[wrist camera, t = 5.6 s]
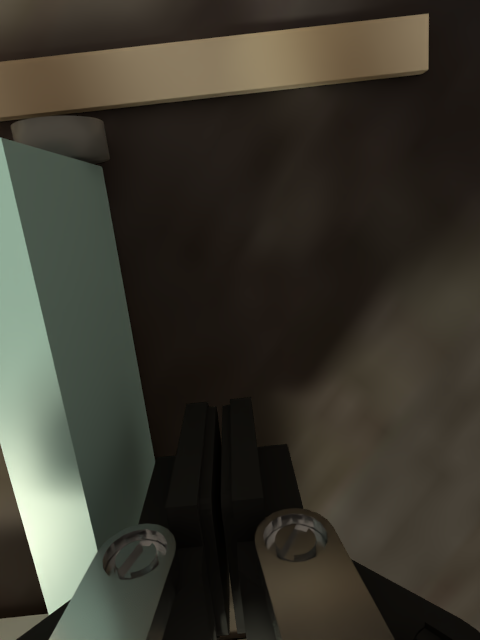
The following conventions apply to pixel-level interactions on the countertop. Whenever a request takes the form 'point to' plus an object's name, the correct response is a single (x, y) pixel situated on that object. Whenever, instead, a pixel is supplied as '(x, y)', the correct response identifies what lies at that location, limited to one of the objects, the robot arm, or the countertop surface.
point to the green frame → (66, 356)
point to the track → (214, 67)
